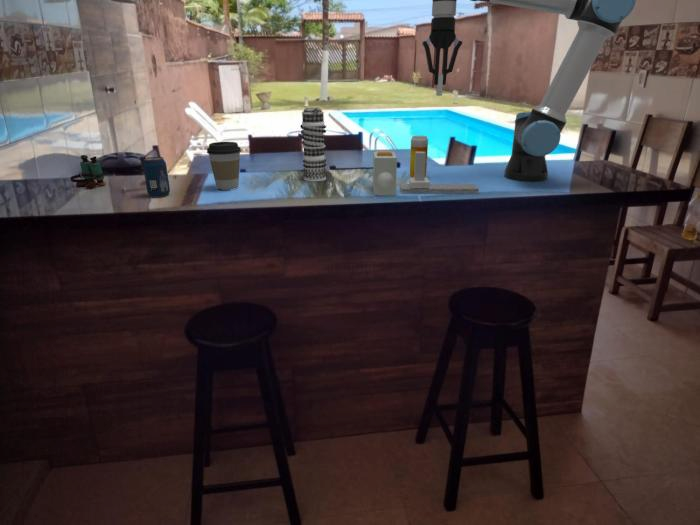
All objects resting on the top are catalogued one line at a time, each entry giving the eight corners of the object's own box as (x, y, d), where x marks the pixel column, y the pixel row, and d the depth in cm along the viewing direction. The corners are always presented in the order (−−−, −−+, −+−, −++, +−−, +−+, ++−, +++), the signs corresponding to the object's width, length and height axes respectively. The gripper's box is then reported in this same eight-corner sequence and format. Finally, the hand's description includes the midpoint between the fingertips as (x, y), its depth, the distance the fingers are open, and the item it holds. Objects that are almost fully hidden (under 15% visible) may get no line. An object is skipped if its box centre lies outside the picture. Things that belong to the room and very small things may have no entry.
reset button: (390, 165, 165) (390, 150, 163) (391, 168, 161) (391, 152, 159) (378, 165, 165) (378, 150, 163) (378, 168, 161) (378, 152, 159)
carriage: (426, 183, 168) (428, 150, 164) (429, 188, 162) (431, 154, 158) (408, 183, 168) (410, 150, 164) (410, 188, 162) (412, 154, 158)
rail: (473, 188, 169) (473, 183, 168) (478, 193, 162) (478, 188, 162) (399, 188, 169) (399, 184, 169) (401, 193, 163) (401, 189, 162)
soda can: (153, 192, 166) (147, 156, 161) (173, 192, 165) (168, 156, 161) (144, 198, 159) (138, 160, 155) (165, 198, 159) (160, 160, 154)
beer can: (425, 180, 181) (427, 137, 175) (408, 179, 182) (410, 137, 176) (426, 176, 186) (428, 135, 181) (410, 175, 188) (411, 135, 182)
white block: (393, 186, 171) (394, 151, 167) (395, 195, 160) (397, 158, 155) (373, 186, 172) (373, 151, 167) (374, 195, 160) (374, 158, 156)
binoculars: (60, 161, 167) (85, 153, 175) (69, 190, 172) (93, 182, 180) (78, 162, 164) (103, 154, 172) (87, 193, 169) (111, 184, 177)
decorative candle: (318, 182, 178) (316, 109, 169) (297, 179, 183) (294, 108, 173) (332, 177, 185) (331, 107, 176) (312, 175, 190) (309, 106, 180)
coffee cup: (229, 182, 179) (224, 140, 173) (251, 186, 173) (247, 142, 167) (203, 189, 170) (198, 144, 164) (226, 193, 164) (221, 147, 158)
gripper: (461, 18, 161) (456, 94, 170) (421, 18, 161) (418, 94, 170) (466, 16, 154) (460, 96, 163) (424, 16, 154) (420, 96, 163)
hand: (439, 95), depth 167 cm, fingers closed
